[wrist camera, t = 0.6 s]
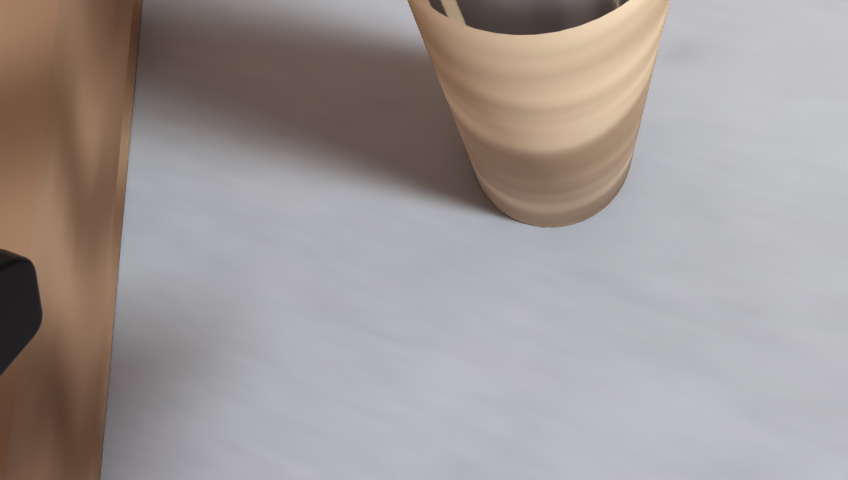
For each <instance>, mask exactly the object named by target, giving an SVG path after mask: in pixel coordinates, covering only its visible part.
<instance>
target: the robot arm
mask: <svg viewBox="0 0 848 480" xmlns="http://www.w3.org/2000/svg"><path fill="white" fill-rule="evenodd" d="M42 319H43V310H42V303H41V297H40V291H39V285H38V279H37V273H36V269H35V266H34V264H33V263H32V261H31V260H30V259H28V258H27V257H24V256H21V255H19V254H16V253H13V252H11V251H8V250H5V249H0V377H1V375H2V374H3V373H4V372H5V371H6V370H7V368H8V367H9V366H10V365H11V364H12V362H13V361H14V360H15V359H16V358H17V357H18V355H19V354H20V353H21V352H22V351H23V349H24V348H25V347H26V346H27V345H28V344H29V342H30V341H31V340H32V339H33V338H34V336H35V335H36V334H37V332H38V330H39V328H40V326H41V323H42Z"/></svg>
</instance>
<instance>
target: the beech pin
mask: <svg viewBox="0 0 848 480" xmlns="http://www.w3.org/2000/svg"><path fill="white" fill-rule="evenodd" d="M669 2H670V0H408V3H409V5H410V8H411V10H412V13H413V16H414V18H415V21H416V23H417V26H418V28H419V31H420V33H421V36H422V39H423V41H424V44H425V46H426V49H427V51H428V54H429V56H430V59H431V62H432V64H433V67H434V69H435V72H436V74H437V77H438V79H439V82H440V84H441V87H442V90H443V92H444V95H445V97H446V100H447V102H448V105H449V107H450V110H451V113H452V115H453V118H454V120H455V123H456V125H457V128H458V130H459V133H460V135H461V138H462V141H463V143H464V146H465V148H466V151H467V153H468V156H469V158H470V161H471V164H472V166H473V169H474V171H475V174H476V176H477V179H478V181H479V184H480V186H481V188H482V189H483V191H484V193H485V194H486V196H487V197H488V198H489V200H490V201H491V202H492V203H493V204H494V205H495V206H496V207H497V208H498V209H499V210H501V211H502V212H503V213H504V214H506V215H508V216H510V217H511V218H513V219H515V220H517V221H520V222H522V223H525V224H529V225H532V226H538V227H563V226H568V225H572V224H576V223H578V222H581V221H584V220H586V219H588V218H590V217H592V216H594V215H595V214H597V213H598V212H600V211H601V210H602V209H604V208H605V207H606V206H607V205H608V204H609V203H610V202H611V201H612V200H613V199H614V197H615V196H616V195H617V194H618V192H619V191H620V189H621V187H622V186H623V184H624V182H625V179H626V177H627V174H628V171H629V168H630V164H631V160H632V156H633V151H634V147H635V143H636V139H637V135H638V131H639V126H640V122H641V118H642V114H643V110H644V106H645V102H646V97H647V93H648V89H649V85H650V81H651V77H652V72H653V68H654V64H655V60H656V56H657V52H658V48H659V43H660V39H661V35H662V31H663V27H664V23H665V18H666V14H667V10H668V6H669Z"/></svg>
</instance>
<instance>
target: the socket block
mask: <svg viewBox="0 0 848 480" xmlns="http://www.w3.org/2000/svg"><path fill="white" fill-rule="evenodd" d="M141 10H142V0H0V249H5V250H8V251H11V252H13V253H16V254H19V255H21V256H24V257H27V258H28V259H30V260H31V261H32V263H33V264H34V266H35V269H36V273H37V279H38V285H39V291H40V297H41V303H42V310H43V319H42V323H41V326H40V328H39V330H38V332H37V334H36V335H35V336H34V338H33V339H32V340H31V341H30V342H29V344H28V345H27V346H26V347H25V348H24V349H23V351H22V352H21V353H20V354H19V355H18V357H17V358H16V359H15V360H14V361H13V362H12V364H11V365H10V366H9V367H8V368H7V370H6V371H5V372H4V373H3V374H2V375H1V377H0V480H100V472H101V461H102V450H103V439H104V427H105V416H106V405H107V393H108V382H109V371H110V360H111V348H112V337H113V326H114V314H115V303H116V292H117V281H118V269H119V258H120V247H121V235H122V224H123V213H124V202H125V190H126V179H127V168H128V156H129V145H130V134H131V123H132V111H133V100H134V89H135V77H136V66H137V55H138V44H139V32H140V21H141Z"/></svg>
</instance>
